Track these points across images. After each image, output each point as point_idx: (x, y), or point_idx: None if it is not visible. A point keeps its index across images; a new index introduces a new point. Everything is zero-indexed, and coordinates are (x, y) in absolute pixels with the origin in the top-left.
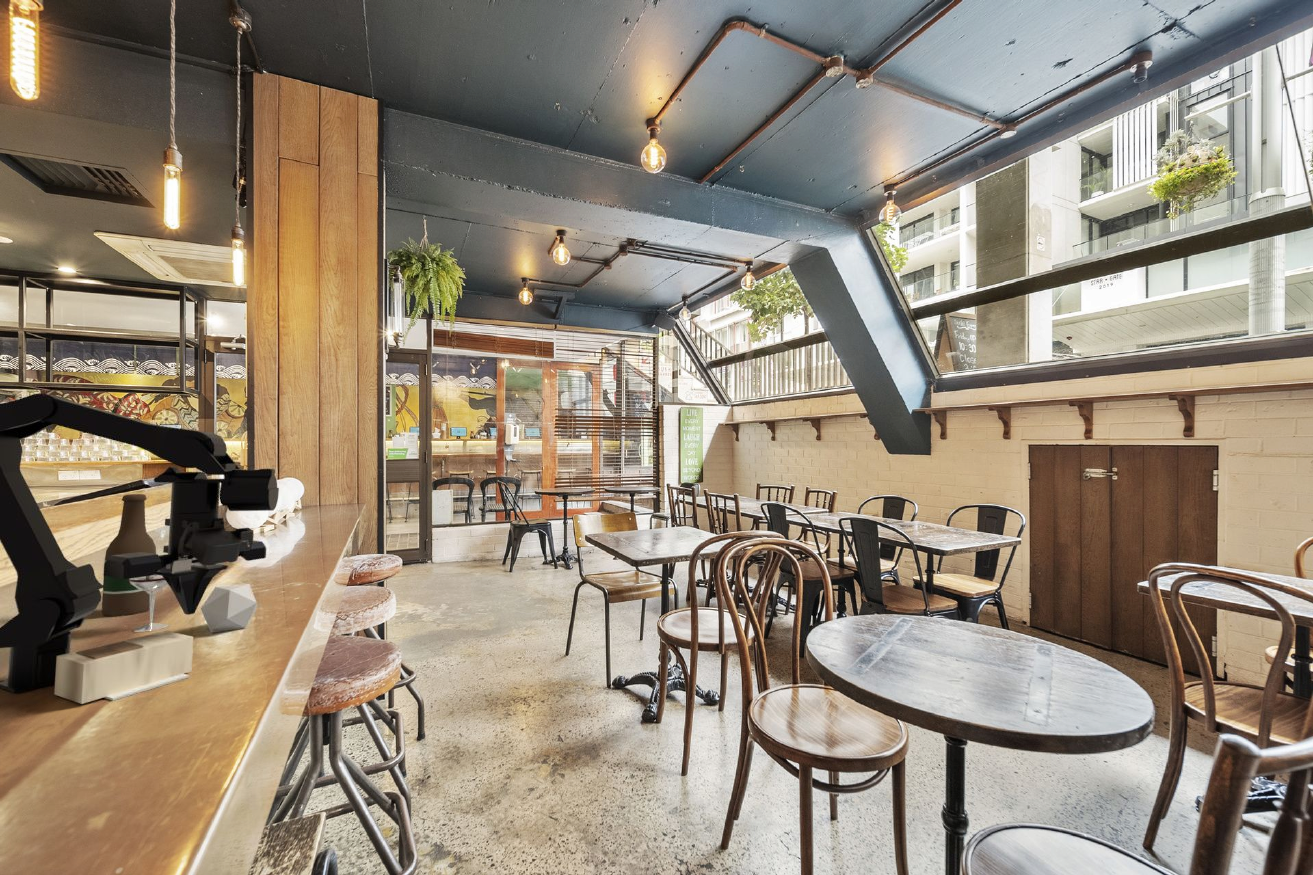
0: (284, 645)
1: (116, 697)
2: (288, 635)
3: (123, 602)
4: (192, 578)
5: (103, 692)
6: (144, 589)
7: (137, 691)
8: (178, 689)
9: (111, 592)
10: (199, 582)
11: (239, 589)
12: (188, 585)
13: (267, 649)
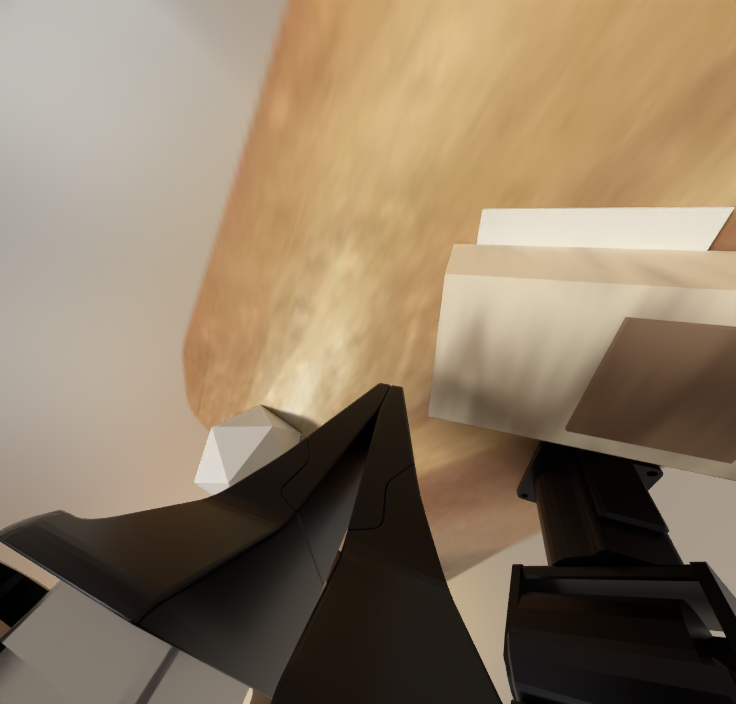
0: (237, 234)
1: (718, 208)
2: (216, 297)
3: (330, 569)
4: (351, 577)
5: (731, 254)
6: (325, 582)
7: (644, 208)
8: (590, 99)
9: None
10: (306, 506)
11: (214, 476)
12: (385, 520)
13: (271, 244)
